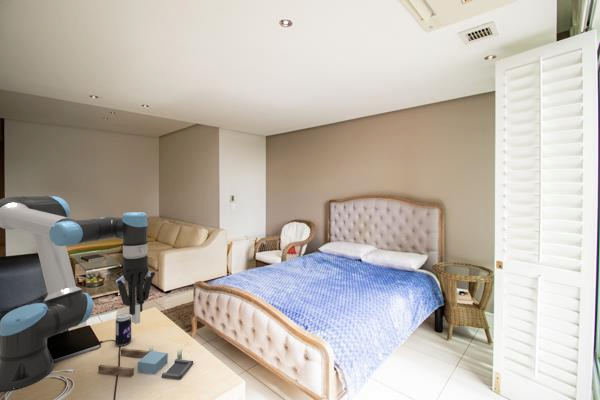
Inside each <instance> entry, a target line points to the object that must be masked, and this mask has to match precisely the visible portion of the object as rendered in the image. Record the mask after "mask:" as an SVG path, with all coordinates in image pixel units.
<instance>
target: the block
mask: <svg viewBox="0 0 600 400" xmlns="http://www.w3.org/2000/svg"><path fill="white" fill-rule="evenodd" d="M167 364H168V352H163V351H156V350H154V351H150V352H149V353H148V354H147V355H145V356H144V357H143V358H139V360H138V361H137V372H138V373H143V374H150V375H156V374H157V373H158V372H159V371H161V369H163V367H165V366H166V365H167Z"/></svg>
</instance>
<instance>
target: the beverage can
mask: <svg viewBox="0 0 600 400" xmlns="http://www.w3.org/2000/svg"><path fill="white" fill-rule="evenodd" d="M114 339H115V345H117V346H119V347H122V346H127V345H128V344H129V343H130V342H131V341H132V315H131V314H130V313H129V312H126V313H125V312H124V313H120V314H118V315H117V316H116V318H115V338H114Z"/></svg>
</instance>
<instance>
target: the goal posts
mask: <svg viewBox="0 0 600 400" xmlns="http://www.w3.org/2000/svg"><path fill="white" fill-rule="evenodd" d="M154 347H155V346H150V347H148V351H155V350H154ZM176 352H177V355H176V357H177V358H176V359H179V360H182V355H183V349H178V350H177V351H176Z"/></svg>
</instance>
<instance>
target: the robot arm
mask: <svg viewBox="0 0 600 400" xmlns="http://www.w3.org/2000/svg"><path fill="white" fill-rule="evenodd" d="M70 215H71V209H70V206H69V204H68V203H67V201H66V200H65V199H64V198H61V197H59V196H53V195H52V196H51V195H43V196H41V195H38V196H37V195H36V196H35V195H33V196H31V195H30V196H29V195H28V196H15V195H14V196H8V197H3V198H0V228H1V229H4V230H11V231H12V230H20V231H24V232H27V233H28V234H30V235H32V236H33V237H34V242H35V247H36V249H37V254H38V257H39V261H40V266H41V270H42V274H43V279H44V282H45V287H46V288H45V289H46V291H47V295H46V297H45V299H44V300H43V302H44V303H43V302H35V303H31V304H26V305H23V306H20V307H17V308H14V309H13V310H10V311H8V312H7V313H6V314H5V315H4V316H2V318H1V319H0V392H6V391H7V392H8V391H12V390H11V389H13V388H18V389H22V388H25V387H27V386H29V385H33V384H34V383H36V382H39V381H40V380H42V379H43V378H45V377H47V376H48V375H49V374H50V373H51V372H52V371H53V369H54V358H53V357H52V355H51V353H50V350H49V349H48V338H51V337H53V336H56V335H58V334H60V333H62V332H65V331H68V330H70V329H72V328H76V327H78V326H79V325H81V324H83V323H85V322H86V321H87V322H88V321H89V319H90V318H91V315H92V314H93V310H94V300H93V298H92V296H90V294H89V293H87V292H84V291H83V289H82V288H81V287H79V286H77V285H76V280H75V276H74V272H73V268H72V265H71V261H70V260H71V259H70V256H69V252H68V249H67V247H71V246H76V245H80V244H86V243H92V242H97V241H105V240H111V239H121V240H122V256H123V258H122V273H121V276H120V277H119V278H118V279H117V278H116V279H114V281H113V282H114V284H115V285H116V286H117V288H118V291H119V294H120V298H121V302H122V304H123V305H124V306H127V307H129V308H128V309H129V310H128V311H129V312H128V313H129V314H130V316H131V323H133V324H134V325H137V324H138V325H139V323H141V313H142V312H143V304H144V303H145V301H147V300H148V299H149V296H150V292H151V287H152V282H153V279H154V277H155V276H156V275H155V274H156V273H155V272H154V271H150V270H149V268H148V264H149V263H148V261H149V259H148V251H149V250H148V248H149V247H148V246H149V245H148V230H149V229H148V228H149V227H148V225H149V223H148V215H147V213H146V212H143V211H142V212H141V211H139V212H138V211H136V212H135V211H133V212H132V211H131V212H124V213H122V217H118V216H117V217H116V216H115V217H114V216H102V217H100V218H89V219H75V218H70V217H71V216H70ZM125 281H126V282H127V286H128V289H127V288H126V287H127V286H126V285H125V283H126V282H125Z"/></svg>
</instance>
